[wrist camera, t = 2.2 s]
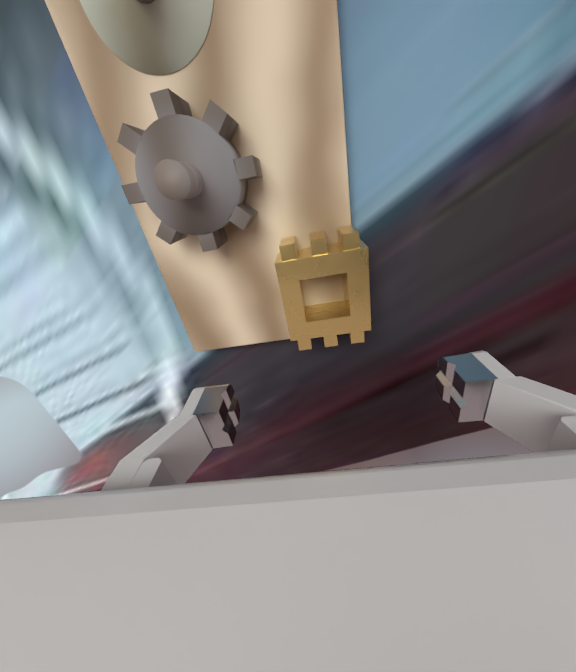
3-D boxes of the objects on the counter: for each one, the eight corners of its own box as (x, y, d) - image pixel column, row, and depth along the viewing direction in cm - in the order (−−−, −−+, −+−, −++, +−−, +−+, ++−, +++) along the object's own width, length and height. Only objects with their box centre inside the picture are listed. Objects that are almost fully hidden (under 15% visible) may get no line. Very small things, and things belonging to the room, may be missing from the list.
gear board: (315, -251, 11) (329, -705, 5) (354, 321, 24) (370, 363, 18) (11, -120, 13) (-212, -353, 7) (200, 343, 26) (172, 387, 20)
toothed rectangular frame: (358, 223, 19) (367, 230, 16) (363, 323, 22) (371, 341, 20) (275, 239, 19) (271, 248, 17) (294, 333, 23) (293, 352, 21)
